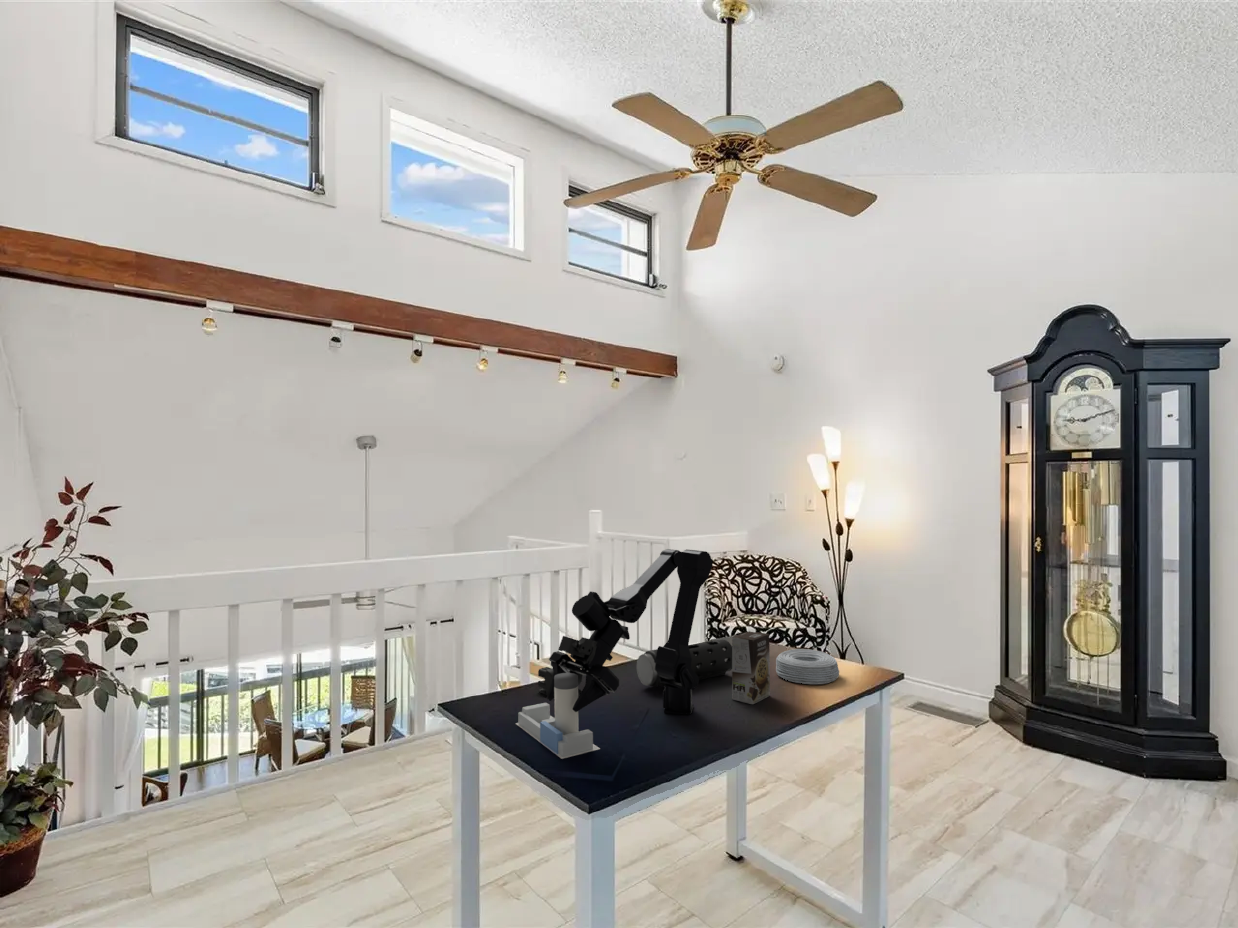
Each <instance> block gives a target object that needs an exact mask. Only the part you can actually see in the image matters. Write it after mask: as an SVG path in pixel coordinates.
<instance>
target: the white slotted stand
mask: <svg viewBox="0 0 1238 928" xmlns="http://www.w3.org/2000/svg"><path fill="white" fill-rule="evenodd" d="M517 716H518V720H517V721H518V722H516V723H515V725H516V726H518V727H519V728H521V729H522V730H523V731H524V732H526V733H527V734H528V735H530V736H531V737H532V738H533V739H535V740H536V741H538V742H539V743H540V744H542V745H543V746H544V747H545V748H547V749H548V750H549V751H551V752H552V753H553V754H555V755H556V756H557V757H559V758H560V759H562V760H563V759H567V758H570V757H574V756H579V755H583V754H587V753H590V752H595V751H598V750H601V748H600V747H598V745H595V744H594V732H593V731H592V730H590V729H583V730H580V731H579V732H575V733H570V734H566V735H562V732H560V731H559V730H558V729H556V728H555V717H554V716H552V715H551V704H549V703H547V702H543V703H542V702H541V703H537V704H533V705H527V706H523V707H522V709H521V711H519V712H518V714H517Z"/></svg>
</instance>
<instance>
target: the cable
mask: <svg viewBox="0 0 1238 928" xmlns="http://www.w3.org/2000/svg"><path fill="white" fill-rule="evenodd" d="M775 665H776V666H775V672H776V674H777V676H778V677H780V678H781V679H782V678H783V679H782V680H784V679H785V680H784V681H787V680H788V681H787V682H792V683H796V684H801V683H802V684H803V685H824V684H829V683H832V682H834V681H836V680H837V679H838V678H839V676H840V670H839V664H838V661H837V659H836V658H835V657H834V656H832V655H830V654H829V653H827V652H825V651H821V650H817V649H815V650H814V649H808V648H792V649H787V650H785V651H782V652H781V653H779V654H778V656H776V658H775Z"/></svg>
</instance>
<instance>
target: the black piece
mask: <svg viewBox="0 0 1238 928" xmlns="http://www.w3.org/2000/svg"><path fill="white" fill-rule="evenodd" d="M577 675H578V686H579V685H581V684H582V682H583V675H582V674H579V673H577ZM537 677H540V678H543V679H544V681H541V680H538V681H537V686H538V687H539V688H540V689H539V691H538V692H539V693H540V694H542V695H545V696H546V697H547V696H548V692H549V689H550V685H551V682H552V678H553V667H548V666H545V667H541V668H539V669H538V672H537Z"/></svg>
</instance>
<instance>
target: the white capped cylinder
mask: <svg viewBox="0 0 1238 928" xmlns="http://www.w3.org/2000/svg"><path fill="white" fill-rule="evenodd" d="M554 696H555V698H554V718H555V728H556V729H558V730H559V731H560V732H562V735H566V734H570V733H575V732H579V711H577V712H575V711H574V710H573V706H574V704H575V702H576V700H577V699H578V697H579V685H578V675H577V674H574V673H560V674H557V675H555V676H554Z"/></svg>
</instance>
